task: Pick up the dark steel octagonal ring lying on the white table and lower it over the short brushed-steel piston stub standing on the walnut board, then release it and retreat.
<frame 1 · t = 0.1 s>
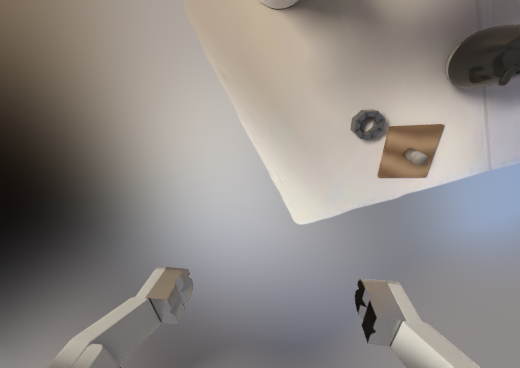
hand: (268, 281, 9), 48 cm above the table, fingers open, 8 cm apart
ring: (364, 123, 49), on the table
black rounded piece: (461, 62, 42), on the table
piston stand: (406, 152, 51), on the table
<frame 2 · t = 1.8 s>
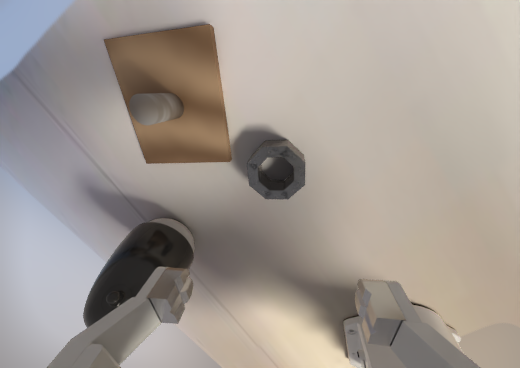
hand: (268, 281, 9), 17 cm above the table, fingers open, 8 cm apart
ring: (277, 165, 25), on the table
black rounded piece: (175, 232, 33), on the table
piston stand: (177, 105, 23), on the table
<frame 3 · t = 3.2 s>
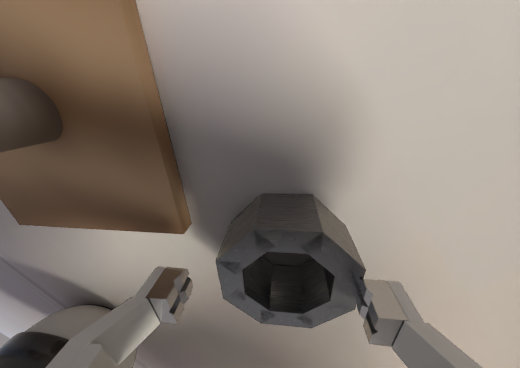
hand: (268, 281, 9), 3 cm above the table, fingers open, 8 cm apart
ring: (286, 241, 12), on the table, touching gripper
black rounded piece: (109, 318, 20), on the table
piston stand: (56, 110, 10), on the table
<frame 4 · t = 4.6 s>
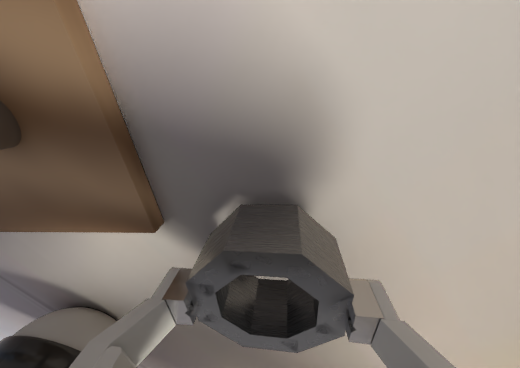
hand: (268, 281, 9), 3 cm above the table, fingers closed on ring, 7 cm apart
ring: (271, 254, 11), point 1 cm above the table, touching gripper
black rounded piece: (98, 319, 20), on the table
piston stand: (16, 115, 10), on the table
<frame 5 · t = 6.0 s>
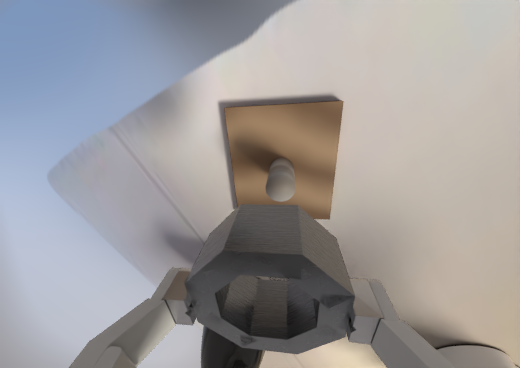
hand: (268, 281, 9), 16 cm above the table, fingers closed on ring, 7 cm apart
ring: (271, 254, 11), point 14 cm above the table, touching gripper
black rounded piece: (248, 274, 33), on the table
piston stand: (282, 166, 23), on the table
when the fingers open (4 cm above the table, at t = 8.3 s): ring stays where it is, resting on piston stand.
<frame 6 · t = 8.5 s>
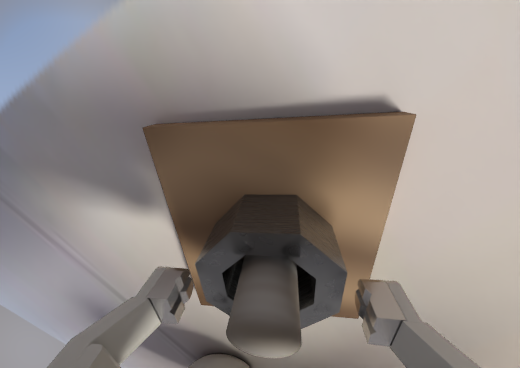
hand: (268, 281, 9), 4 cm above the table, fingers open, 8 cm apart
ring: (272, 242, 11), point 1 cm above the table, touching piston stand
black rounded piece: (227, 362, 22), on the table
piston stand: (272, 231, 12), on the table
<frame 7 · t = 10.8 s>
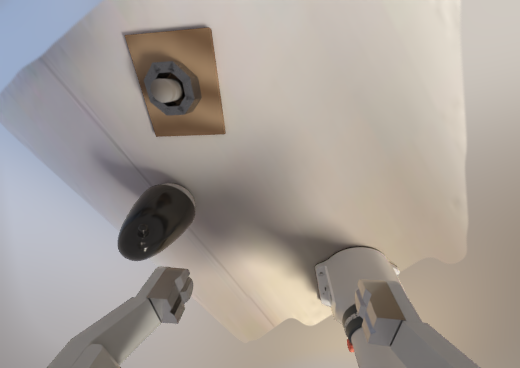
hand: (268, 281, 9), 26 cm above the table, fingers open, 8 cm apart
ring: (179, 89, 29), point 1 cm above the table, touching piston stand
black rounded piece: (178, 196, 40), on the table
piston stand: (181, 89, 30), on the table
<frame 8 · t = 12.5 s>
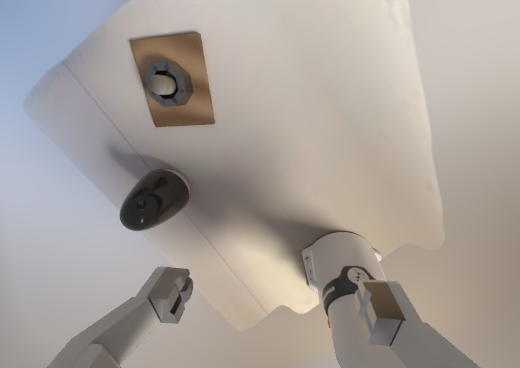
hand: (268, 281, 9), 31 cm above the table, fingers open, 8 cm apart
ring: (174, 85, 34), point 1 cm above the table, touching piston stand
black rounded piece: (176, 182, 45), on the table
piston stand: (177, 85, 35), on the table
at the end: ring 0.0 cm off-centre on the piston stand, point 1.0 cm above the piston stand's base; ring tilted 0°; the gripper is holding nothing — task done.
